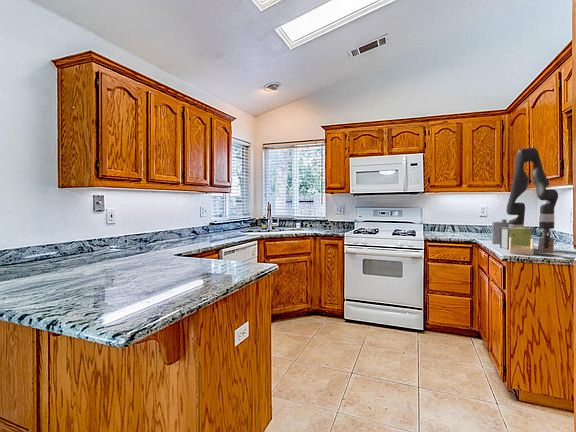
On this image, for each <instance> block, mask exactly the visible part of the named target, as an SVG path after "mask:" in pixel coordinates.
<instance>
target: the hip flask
mask: <svg viewBox="0 0 576 432" xmlns="http://www.w3.org/2000/svg"><path fill="white" fill-rule="evenodd" d="M507 221H508V219H505V218H503V219H501V221H492V222H491V223H492V225H491V226H492V230H491V244H492V245H500V228H509V222H507Z"/></svg>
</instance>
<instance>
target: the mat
mask: <svg viewBox="0 0 576 432" xmlns="http://www.w3.org/2000/svg"><path fill="white" fill-rule="evenodd" d="M535 254H536V255H537V256H545V257H556V255H555V254H554V253H540V252H536V253H535Z"/></svg>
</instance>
